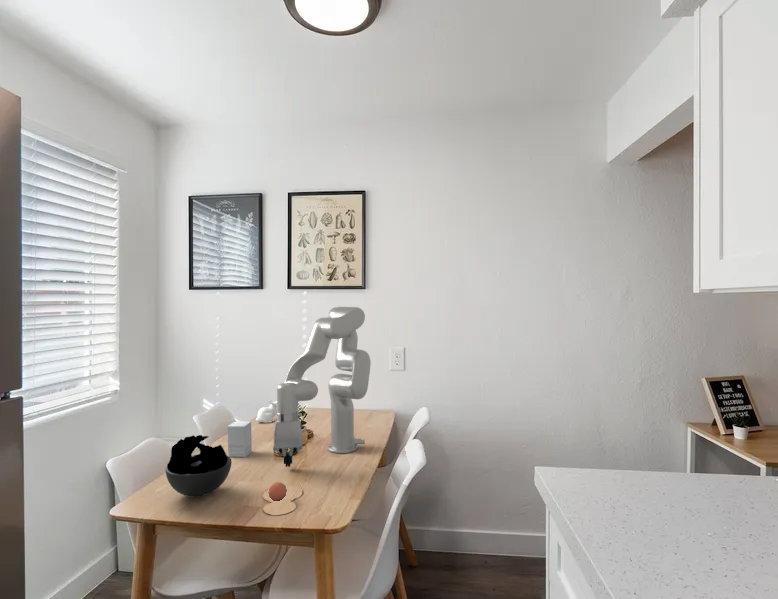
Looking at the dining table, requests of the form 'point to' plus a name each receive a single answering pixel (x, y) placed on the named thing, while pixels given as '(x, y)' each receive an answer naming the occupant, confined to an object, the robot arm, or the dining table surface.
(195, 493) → the coal bowl
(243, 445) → the supplement box
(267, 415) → the rabbit
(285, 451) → the robot arm
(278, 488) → the ball
